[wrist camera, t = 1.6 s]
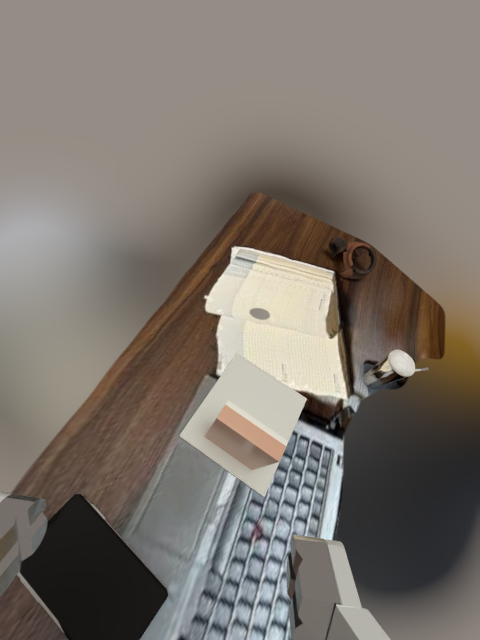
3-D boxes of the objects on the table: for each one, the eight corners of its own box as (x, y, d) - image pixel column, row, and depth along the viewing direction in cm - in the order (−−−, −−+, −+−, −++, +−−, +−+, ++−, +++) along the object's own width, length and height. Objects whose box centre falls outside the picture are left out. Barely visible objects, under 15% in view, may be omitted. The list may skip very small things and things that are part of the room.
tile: (251, 470, 37) (279, 461, 28) (204, 436, 38) (216, 418, 29) (259, 454, 39) (288, 441, 30) (213, 422, 40) (228, 399, 31)
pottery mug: (363, 262, 71) (386, 253, 63) (345, 291, 70) (367, 286, 62) (328, 233, 69) (348, 221, 61) (310, 263, 68) (327, 254, 60)
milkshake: (383, 399, 49) (426, 380, 41) (357, 382, 50) (394, 360, 42) (388, 380, 52) (429, 358, 43) (363, 364, 52) (399, 339, 44)
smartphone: (106, 691, 25) (5, 563, 27) (108, 683, 26) (11, 561, 28) (171, 591, 29) (79, 489, 32) (170, 588, 30) (81, 490, 33)
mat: (263, 496, 36) (264, 497, 36) (179, 436, 38) (179, 435, 38) (305, 399, 46) (306, 398, 45) (236, 353, 47) (237, 352, 47)
